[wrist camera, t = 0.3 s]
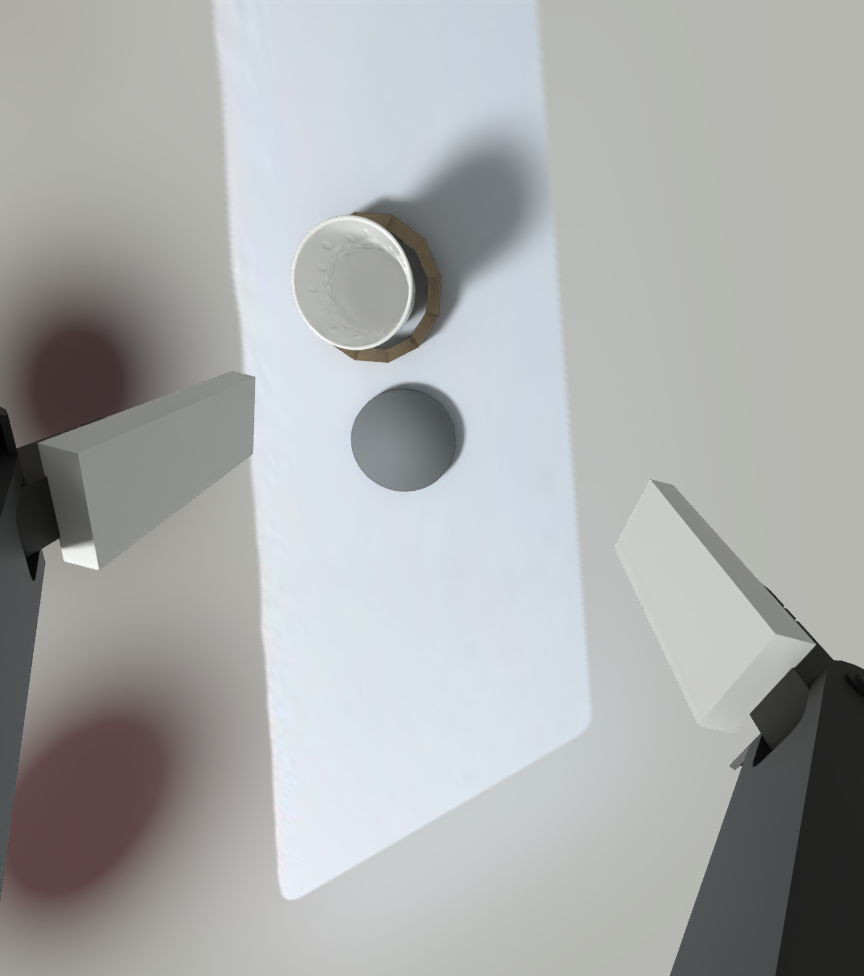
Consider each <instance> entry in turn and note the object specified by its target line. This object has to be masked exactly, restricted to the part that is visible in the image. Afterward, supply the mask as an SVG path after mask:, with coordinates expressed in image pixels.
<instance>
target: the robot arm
mask: <svg viewBox="0 0 864 976" xmlns="http://www.w3.org/2000/svg"><path fill="white" fill-rule="evenodd" d="M254 404H255V377H253V376H249V375H246V374H242V373H237V372H234V371H231V372H228V373H226V374H223V375H220V376H218V377H215V378H213V379H209V380H207V381H204V382H201V383H199V384H196V385H193V386H191V387H188V388H185V389H182V390H180V391H177V392H174V393H172V394H169V395H166V396H163V397H161V398H158V399H156V400H153V401H150V402H147V403H145V404H142V405H139V406H137V407H134V408H131V409H128V410H126V411H123V412H120V413H117V414H115V415H112V416H109V417H104V418H99V419H97V420H93V421H91V422H88V423H85V424H83V425H81V427H74V428H72V429H69V430H66V431H65V433H58V434H55V435H52V436H50V437H47V438H44V439H41V440H39V441H36V442H33V443H30V444H28V445H25V446H22V447H20V448H17V449H16V445H15V441H14V437H13V433H12V429H11V425H10V421H9V417H8V414H7V411H6V409H4V408H2V407H0V898H1V891H2V884H3V876H4V868H5V861H6V854H7V846H8V839H9V831H10V824H11V816H12V808H13V801H14V793H15V786H16V779H17V771H18V763H19V756H20V748H21V741H22V734H23V726H24V719H25V711H26V704H27V696H28V689H29V681H30V673H31V666H32V658H33V651H34V643H35V636H36V629H37V621H38V614H39V606H40V599H41V590H42V583H43V576H44V568H45V560H44V556H43V552H42V548H44V547H45V546H47V545H49V544H50V543H52V542H54V541H55V540H57V539H59V541H60V545H61V550H62V554H63V559H64V561H65V562H69V563H73V564H77V565H81V566H85V567H88V568H92V569H96V570H100V569H101V568H103V567H104V566H105V565H107V564H108V563H109V562H111V561H112V560H113V559H115V558H116V557H117V556H119V555H120V554H121V553H122V552H124V551H125V550H126V549H128V548H129V547H130V546H132V545H133V544H134V543H136V542H137V541H138V540H140V539H141V538H142V537H144V536H145V535H146V534H148V533H149V532H150V531H152V530H153V529H154V528H156V527H157V526H158V525H160V524H161V523H162V522H164V521H165V520H166V519H167V518H169V517H170V516H171V515H173V514H174V513H175V512H177V511H178V510H179V509H181V508H182V507H183V506H185V505H186V504H187V503H189V502H190V501H191V500H192V499H194V498H195V497H196V496H198V495H199V494H200V493H202V492H203V491H204V490H206V489H207V488H208V487H210V486H211V485H212V484H214V483H215V482H216V481H218V480H219V479H220V478H222V477H223V476H224V475H226V474H227V473H228V472H230V471H231V470H232V469H234V468H235V467H236V466H238V465H239V464H240V463H242V462H243V461H244V460H246V459H247V458H248V457H249V456H251V455H252V454H253V435H254ZM614 548H615V550H616V552H617V554H618V557H619V559H620V561H621V563H622V565H623V567H624V569H625V571H626V574H627V576H628V578H629V580H630V582H631V584H632V586H633V588H634V591H635V593H636V595H637V597H638V599H639V601H640V603H641V605H642V607H643V610H644V612H645V614H646V616H647V618H648V620H649V622H650V624H651V627H652V629H653V631H654V633H655V635H656V637H657V639H658V641H659V643H660V646H661V648H662V650H663V652H664V654H665V656H666V658H667V660H668V662H669V665H670V667H671V669H672V671H673V673H674V675H675V677H676V679H677V681H678V683H679V686H680V688H681V690H682V692H683V694H684V696H685V698H686V701H687V703H688V705H689V707H690V709H691V711H692V713H693V715H694V718H695V720H696V722H697V724H698V725H699V726H703V727H707V728H711V729H715V730H718V731H722V732H726V733H730V734H734V733H735V732H736V731H737V730H738V729H739V727H740V726H741V725H742V724H743V723H744V722H745V721H746V720H747V719H748V718H749V717H750V716H751V718H752V719H753V721H754V722H755V724H756V726H757V727H758V729H759V731H760V732H761V734H760V735H759V736H758V737H757V738H756V739H755V740H754V741H753V742H752V743H751V744H750V745H749V746H748V747H747V748H746V749H745V750H744V751H743V752H742V753H741V754H740V755H739V756H738V757H737V758H736V759H735V760H734V761H733V762H732V764H731V765H730V767H731V768H733V769H734V770H736V769H737V768H738V767H739V766H742V768H741V771H740V774H739V777H738V780H737V783H736V786H735V788H734V791H733V794H732V797H731V800H730V803H729V806H728V809H727V812H726V815H725V817H724V820H723V823H722V826H721V829H720V832H719V835H718V838H717V841H716V844H715V847H714V849H713V852H712V855H711V858H710V861H709V864H708V867H707V870H706V873H705V876H704V878H703V881H702V884H701V887H700V890H699V893H698V896H697V899H696V901H695V904H694V907H693V910H692V913H691V916H690V919H689V922H688V925H687V927H686V930H685V933H684V936H683V939H682V942H681V945H680V948H679V951H678V954H677V957H676V959H675V962H674V965H673V968H672V971H671V974H670V976H864V669H862V668H860V667H858V666H856V665H853V664H850V663H847V662H844V661H836V660H833V659H832V658H831V657H830V656H829V655H828V653H826V651H825V650H824V649H823V648H822V647H821V646H820V645H819V644H818V642H816V640H815V639H814V638H813V637H812V636H811V635H810V634H809V632H807V630H806V629H805V628H804V627H803V626H802V625H801V624H800V623H799V622H798V621H795V619H796V618H795V617H794V616H793V615H792V614H791V613H790V612H789V610H788V609H786V608H784V605H783V604H782V603H781V602H780V600H778V599H777V597H776V596H775V595H774V594H773V593H772V592H771V591H770V590H769V589H768V588H767V587H765V586H764V585H763V584H761V583H760V581H759V580H758V579H757V578H756V577H755V576H754V575H753V574H752V572H751V571H750V570H749V569H748V568H747V567H746V566H745V565H744V564H743V562H742V561H741V560H740V559H739V558H738V557H737V556H736V555H735V554H734V552H733V551H732V550H731V549H730V548H729V547H728V546H727V545H726V543H724V541H723V540H722V539H721V538H720V537H719V536H718V535H717V533H716V532H715V531H714V530H713V529H712V528H711V527H710V526H709V525H708V523H707V522H706V521H705V520H704V519H703V518H702V517H701V516H700V515H699V514H698V512H697V511H696V510H695V509H694V508H693V507H692V506H691V505H690V503H689V502H688V501H687V500H686V499H685V498H684V497H683V496H682V495H681V493H680V492H679V491H678V490H677V489H676V488H675V487H674V486H673V485H671V484H667V483H663V482H659V481H655V480H651V479H650V481H649V482H648V484H647V486H646V488H645V490H644V492H643V494H642V496H641V498H640V499H639V501H638V503H637V505H636V507H635V509H634V511H633V513H632V515H631V517H630V518H629V520H628V522H627V524H626V526H625V528H624V530H623V532H622V534H621V535H620V537H619V539H618V541H617V543H616V545H615V547H614Z"/></svg>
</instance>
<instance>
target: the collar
mask: <svg viewBox="0 0 864 976" xmlns="http://www.w3.org/2000/svg"><path fill="white" fill-rule="evenodd" d="M351 215H354V216H360V217H364V218H367V219H370V220H372V221H374V222H376V223H378V224H379V225H381V226H382V227H384V228H385V229H386V230H387V231H388V232H390V233H391V234H393V235H394V236H395V237H396V238H398V239H399V240H400V241H402V242H403V243H404V244H406V245H407V246H408V247H410V248H411V249H412V250H414V251H415V252H416V253H417V256H418V258H419V260H420V262H421V265H422V267H423V269H424V272H425V274H426V276H427V278H428V290H427V307H426V313H425V315H424V316H423V318H422V320H421V321H420V323H419V324H418V326H417V328H416V329H415V331H414V332H413V334H412V336H411V337H410V338H408V339H406V340H404V341H402V342H400V343H398V344H397V345H395V346H393V347H391V348H389V349H387V348H374V347H373V348H369V349H364V350H349V349H344V348H340V347H337V346H335V345H333V346H335V347H336V348H338V349H339V350H341V351H342V352H344V353H345V354H346V355H348V356H349V357H351V358H352V359H354V360H361V361H374V362H386V363H389V362H390V361H392V360H394V359H396V358H398V357H400V356H402V355H404V354H406V353H408V352H410V351H412V350H414V349H416V348H418V347H419V346H420V345H421V343H422V342H423V340H424V338H425V337H426V335H427V334H428V332H429V330H430V329H431V327H432V326H433V324H434V323H435V321H436V319H437V318H438V316H439V302H440V288H441V277H440V274H439V272H438V270H437V267H436V265H435V263H434V260H433V258H432V256H431V253H430V251H429V249H428V246H427V244H426V242H425V239H423V238H422V237H421V236H419V235H418V234H417V233H415V232H414V231H413V230H412V229H410V228H409V227H408V226H406V225H405V224H404V223H402V222H401V221H400V220H399V219H397V218H396V217H395V216H393V215H385V214H372V213H359V212H354V213H353V214H351Z"/></svg>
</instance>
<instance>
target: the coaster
mask: <svg viewBox="0 0 864 976" xmlns="http://www.w3.org/2000/svg"><path fill="white" fill-rule="evenodd" d="M351 446H352V451H353V454H354V457H355V460H356V462H357V464H358V465H359V467H360V468H361V470H362V471H363V472H364V473H365V475H366V476H367V477H369V478H370V479H371V480H372V481H374V482H375V483H377V484H378V485H380V486H382V487H385V488H387V489H391V490H394V491H415V490H419V489H422V488H425V487H427V486H429V485H431V484H433V483H434V482H436V481H437V480H438V479H439V478H440V477H441V476H442V475H443V474H444V473H445V472H446V470H447V469H448V467H449V465H450V463H451V461H452V458H453V455H454V449H455V435H454V429H453V425H452V423H451V420H450V418H449V416H448V415H447V413H446V412H445V410H444V409H443V408H442V407H441V406H440V404H439V403H437V402H436V401H435V400H434V399H432V398H431V397H429V396H427V395H425V394H423V393H421V392H418V391H414V390H408V389H397V390H391V391H387V392H384V393H382V394H379V395H378V396H376V397H374V398H373V399H372V400H370V401H369V402H368V403H367V404H366V405H365V406H364V407H363V408H362V410H361V411H360V412H359V414H358V415H357V417H356V419H355V422H354V424H353V428H352V433H351Z"/></svg>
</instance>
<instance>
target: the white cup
mask: <svg viewBox="0 0 864 976" xmlns="http://www.w3.org/2000/svg"><path fill="white" fill-rule="evenodd" d="M292 289H293V294H294V298H295V302H296V304H297V307H298V309H299V311H300V313H301V315H302V317H303V319H304V320H305V322H306V323H307V324H308V326H309V327H310V328H311V329H312V330H313V331H314V332H315V333H316V334H317V335H318V336H319V337H321V338H322V339H323V340H325V341H327V342H328V343H330V344H332V345H335V346H337V347H340V348H344V349H349V350H364V349H369V348H373V347H376V346H378V345H380V344H382V343H384V342H385V341H387V340H388V339H390V338H391V337H392V336H393V335H394V334H395V333H396V332H397V331H398V330H399V329H401V328H402V326H403V325H404V324H405V322H406V321H407V319H408V318H409V316H410V314H411V312H412V309H413V305H414V302H415V282H414V277H413V273H412V270H411V267H410V265H409V262H408V259H407V257H406V255H405V253H404V251H403V249H402V247H401V246H400V244H399V243H398V241H397V240H396V239H395V238H394V237H393V235H392V234H391V233H390V232H388V231H387V230H386V229H385V228H384V227H382V226H381V225H379V224H378V223H376V222H374V221H372V220H370V219H367V218H364V217H360V216H354V215H342V216H336V217H332V218H329V219H327V220H325V221H323V222H321V223H319V224H318V225H317V226H315V227H314V228H313V229H312V230H311V231H310V232H309V233H308V234H307V235H306V236H305V237H304V239H303V240H302V242H301V244H300V245H299V247H298V250H297V252H296V255H295V258H294V262H293V267H292Z"/></svg>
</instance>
